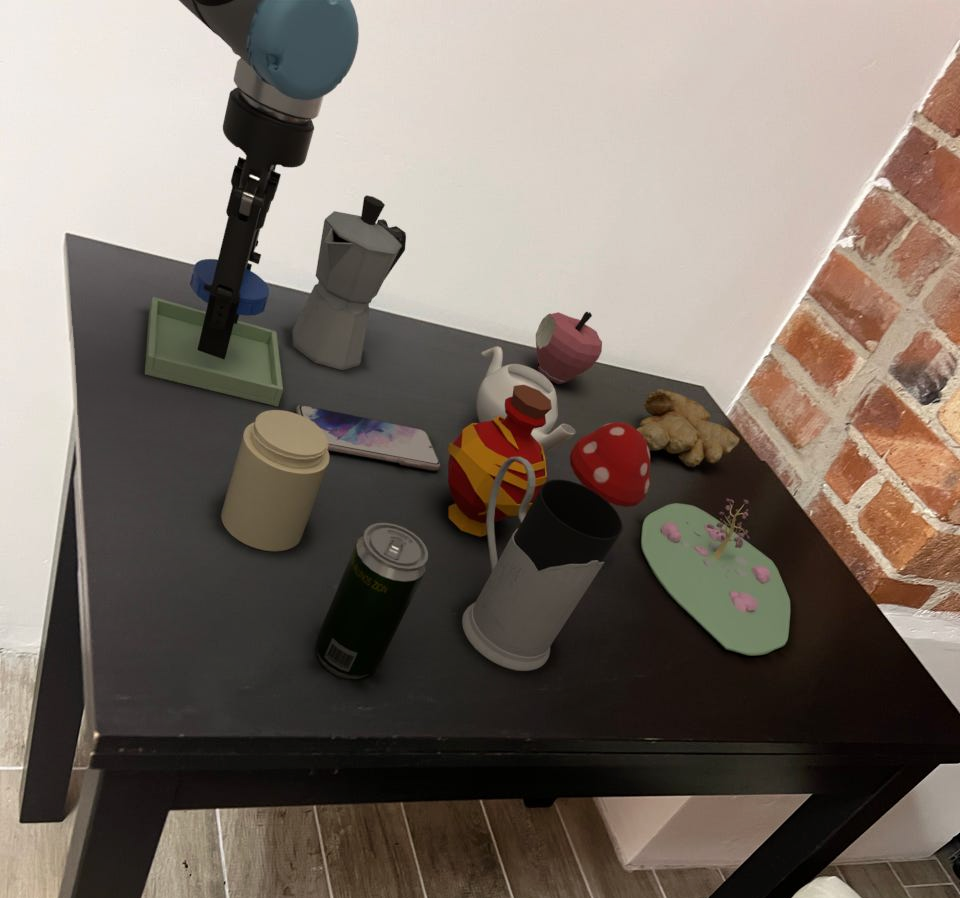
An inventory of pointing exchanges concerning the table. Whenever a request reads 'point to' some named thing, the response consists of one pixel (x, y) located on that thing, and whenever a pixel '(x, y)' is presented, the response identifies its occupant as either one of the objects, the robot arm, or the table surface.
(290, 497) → the jar
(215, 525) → the table surface
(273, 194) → the robot arm
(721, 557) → the plant
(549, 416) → the teapot
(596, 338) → the apple
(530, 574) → the glass holder
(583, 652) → the table surface
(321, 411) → the smartphone
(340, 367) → the coffee maker
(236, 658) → the table surface
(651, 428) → the ginger root
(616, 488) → the decorative mushroom
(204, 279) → the lid
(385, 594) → the beer can
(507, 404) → the potion bottle
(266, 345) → the tray
